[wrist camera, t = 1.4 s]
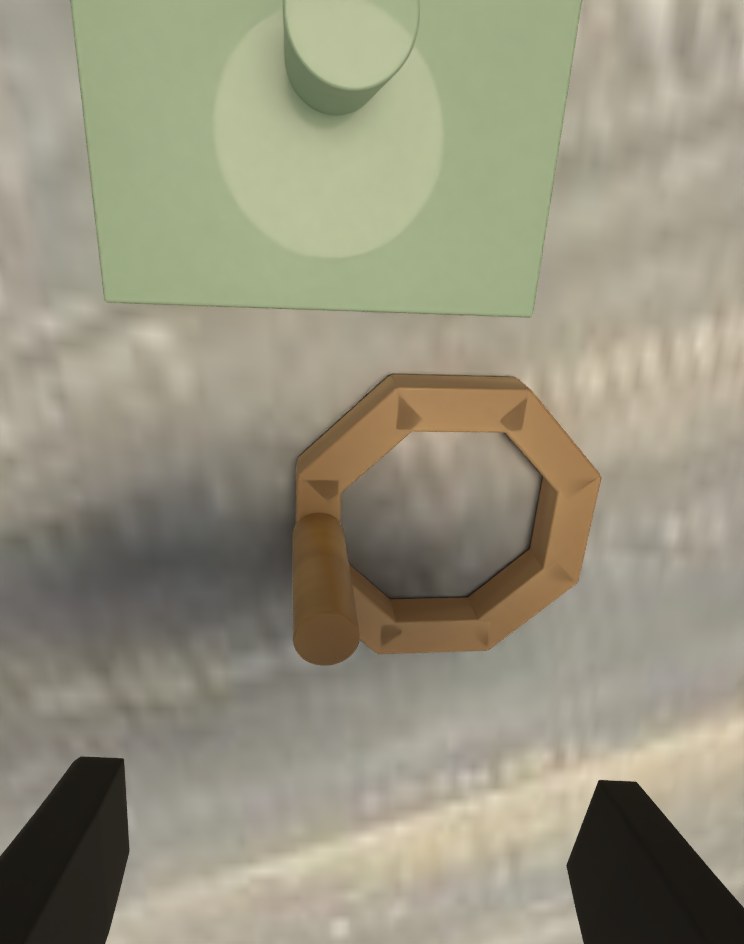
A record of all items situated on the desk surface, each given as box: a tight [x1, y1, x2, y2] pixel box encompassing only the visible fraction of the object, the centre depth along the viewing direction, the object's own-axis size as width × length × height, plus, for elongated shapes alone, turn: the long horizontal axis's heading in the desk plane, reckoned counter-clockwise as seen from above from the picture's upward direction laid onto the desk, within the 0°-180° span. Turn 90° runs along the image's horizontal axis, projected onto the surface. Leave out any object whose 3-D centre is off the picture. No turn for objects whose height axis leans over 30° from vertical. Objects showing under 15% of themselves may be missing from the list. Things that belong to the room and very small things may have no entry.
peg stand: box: [70, 0, 582, 317], centre depth 12 cm, size 10×10×5 cm
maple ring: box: [292, 374, 601, 665], centre depth 16 cm, size 8×8×6 cm
